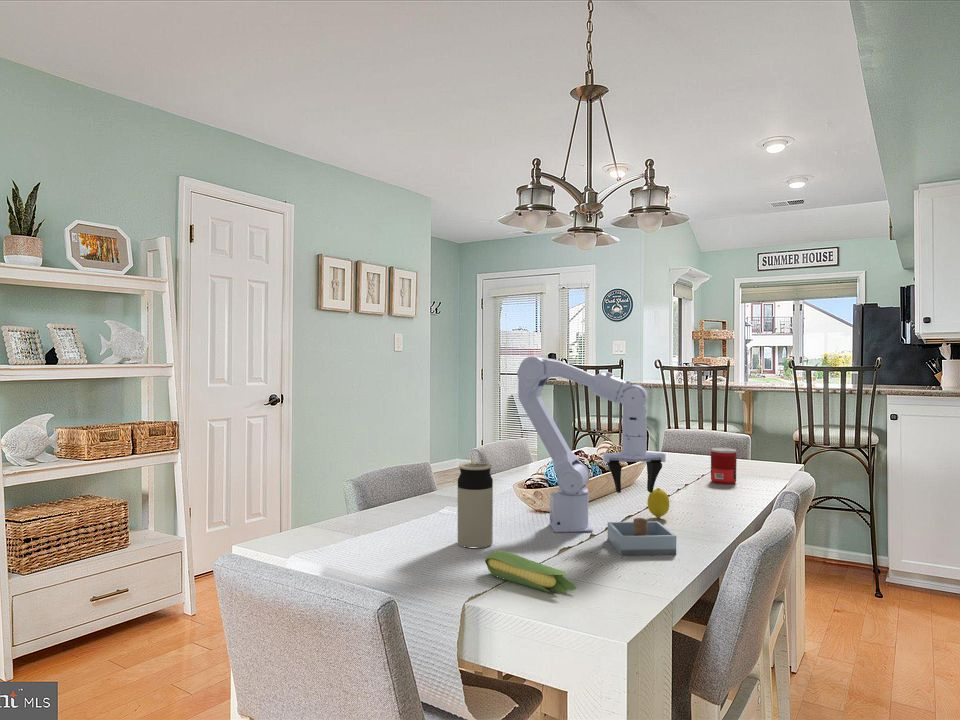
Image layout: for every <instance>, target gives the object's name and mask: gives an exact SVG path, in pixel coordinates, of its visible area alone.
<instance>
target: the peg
mask: <svg viewBox="0 0 960 720" xmlns="http://www.w3.org/2000/svg"><path fill="white" fill-rule="evenodd" d="M633 522H634V536H647V522H648V519H646V518H641V517H637V518H636V517H635V518H633Z"/></svg>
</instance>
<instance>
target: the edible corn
mask: <svg viewBox="0 0 960 720" xmlns="http://www.w3.org/2000/svg"><path fill="white" fill-rule="evenodd" d="M484 563H485V565H486V567H487V570H488V572H489V573H490V574H491V573H492V574H493V576H494V575H495V576H494V577H496V576H498V577H501V578H504V579H507V580H506V581H509V582H511V583H516V584H519V585H522V586H525V587H529V588H532V589H534V590H535V589H536V590H538V591H542V592H546V593H549V594H552V595H554V593H553V592H554V591H556V592H559V593H563V594H567V595H568V591H574V590H576V589H578V587H577V586H576V585H575V583H574V582H572V581H571V580H569V579H568V578H566V577H565V576H566V575H568V573H567V572H566V571H564V570H561V569H558V568H555V567H552V566H550V565H549V566H548V565H546V564H543V563H539V562H536V561H534V560H530V559H528V558H525V557H523V556H520V555H517V554H515V553H513V552H510V551H507V550H506V551H505V550H497V551H495V552H493V553H491V554H489V556H487V557H485V559H484ZM492 574H491V575H492ZM498 577H497V578H498ZM501 578H500V579H501ZM504 579H503V580H504ZM552 590H553V591H552Z"/></svg>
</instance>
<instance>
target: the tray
mask: <svg viewBox="0 0 960 720" xmlns="http://www.w3.org/2000/svg"><path fill="white" fill-rule="evenodd" d="M607 540H608V542H609V543H610V544H611V545H612V546H613V548H614V549H615V550H616V551H617V552H618V554H619V555H620V556H654V555H655V556H658V555H660V556H662V555H663V556H664V555H665V556H667V555H668V556H669V555H677V535H676V534H674V533H673V532H672V531H671V530H669V528H667V527H666V526H665V525H663V524H662V523H660V521H657V520H656V521H655V520H654V521H647V536H634V521H608V522H607Z"/></svg>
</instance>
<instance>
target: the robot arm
mask: <svg viewBox="0 0 960 720" xmlns="http://www.w3.org/2000/svg"><path fill="white" fill-rule="evenodd" d="M516 375H517V378H518V380H517V382H518V383H517V384H518V385H517V386H518V392H517V393H518V400H519V403H520V404H521V406H522V407H523V410H524V411H525V413H526V414H527V417H528V419H529V420H530V422H531V424H532V425H533V427H534V429H535V431H536V433H537V435H538V436H539V438H540V440H541V442H542V443H543V445H544V447H545V448H546V449H545V450H546V451H547V452H548V455H549V456H550V458H551V460H552V464H553V471H554V472H555V474H556V478H557V479H556V481H557V485H558V491H555V492H550V494H549V495H550V496H549V522H548V523H549V525H550V527H551V529H552V531H553V532H555V533H560V532H561V533H562V532H564V533H569V532H593V531H594V529H593V527H592V526H591V525H590V524H589V489H588V488H587V486H586V485H587V484H588V483H589V480H590V477H591V476H590V475H591V474H590V470H589V468H588V467H587V465H585V464H584V463H582V462H581V461H580V460H579V458H578V456H577V455H576V454H575V453H574V452H573V451H572V450H571V449H570V447H569V445H568V442H567V441H566V440H565V438H564V436H563V435H562V433H561V430H560V429H559V427H558V425H557V424H556V422H555V420H554V419H553V416H552V415H551V413H550V411H549V410H548V408H547V406H546V404H545V402H544V400H543V399H542V397H541V396H542V395H541V394H542V391H543V389H544V386H545V384H546V383H547V381H548V380H549V379H550V378H559V377H560V378H563V379H565V380H569V381H572V382H575V383H578V384H580V385H583V386H586V387H589V388H590V389H591V391H592V393H593V395H595V396H598V397H599V398H603V399H605V400H607V401H610V402H613V403H614V404H615V403H616V404H621V405H622V417H621V419H622V422H621V423H622V424H621V427H622V428H621V429H622V432H621V434H622V435H621V437H622V438H621V447H622V450H621V452H620V451H619V452H618V451H617V452H604V453H602V454H603V456H602V457H603V460H602V461H603V462H604V463H606V464H607V466H608V468H609V472H610V473H611V476H612V478H613V482H614V485H615V486H614V487H615V492H616V493H618V494H620V493H622V483H621V480H622V478H621V477H622V468H623V467H622V465H621V463H623V462H624V463H625V462H627V463H629V462H630V463H632V462H633V463H634V462H639V463H640V462H642V463H644V462H645V464H646V471H647V481H646V482H647V483H646V484H647V485H646V488H647V489H646V490H647V492H649V494H650V493H653V490H654V487H655V483H656V480H657V478H658V476H659V474H660V473H661V472H660V471H661V470H662V468H663V463H665V462H666V453H664V452H652V451H651V452H648V451H647V449H648V448H647V447H648V446H647V445H648V444H647V443H648V442H647V441H648V436H647V435H648V433H647V432H648V431H647V430H648V428H647V427H648V424H647V423H648V417H647V405H646V404H647V402H648V398H649V395H648V392H647V390H646V388H644V387H643V386H641V385H640V384H639V383H633V384H631V383H632V381H631V380H629V379H627V380H623V379H620V378H618V377H615V376H613V373H612V372H609V371H606V373H605V372H600V373H598V374H596V375H595V374H592V373H590V372H588V371H587V370H586V371H585V370H583V369H581V368H579V367H576V366H574V365H572V364H569V363H566V362H564V361H561V360H558V359H554V358H547V357H546V356H542V355H541V356H540V355H539V356H528V357H526V358H524V359H523V360H522V361H521V363H520V365H519V367H518V369H517V372H516Z"/></svg>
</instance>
